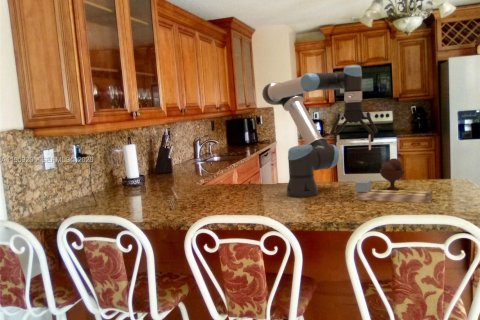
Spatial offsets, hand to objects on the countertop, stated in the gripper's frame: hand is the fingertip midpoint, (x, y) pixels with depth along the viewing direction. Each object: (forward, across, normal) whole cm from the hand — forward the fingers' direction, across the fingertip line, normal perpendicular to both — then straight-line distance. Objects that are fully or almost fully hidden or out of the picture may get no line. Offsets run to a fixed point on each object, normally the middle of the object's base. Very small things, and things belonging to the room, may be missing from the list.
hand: (353, 149), depth 183 cm
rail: (+20, +16, -6) cm, 27 cm away
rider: (+19, +4, -4) cm, 20 cm away
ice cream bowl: (+21, +16, +14) cm, 30 cm away
